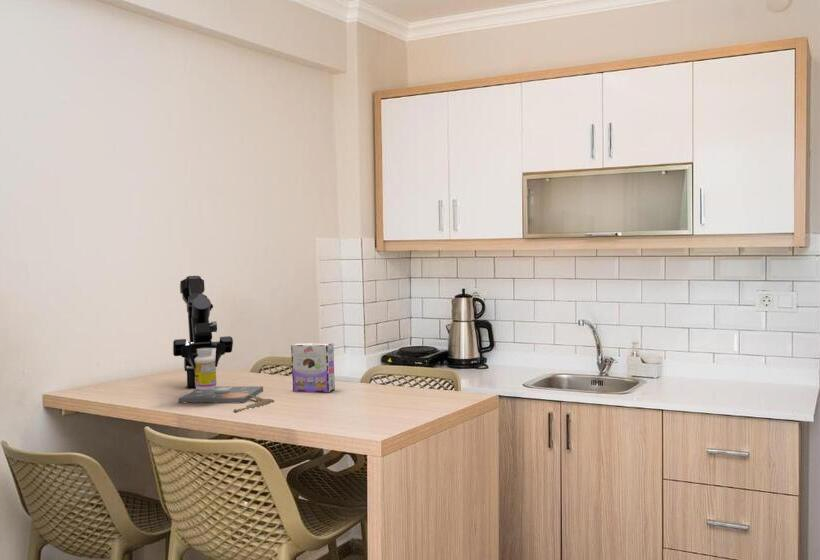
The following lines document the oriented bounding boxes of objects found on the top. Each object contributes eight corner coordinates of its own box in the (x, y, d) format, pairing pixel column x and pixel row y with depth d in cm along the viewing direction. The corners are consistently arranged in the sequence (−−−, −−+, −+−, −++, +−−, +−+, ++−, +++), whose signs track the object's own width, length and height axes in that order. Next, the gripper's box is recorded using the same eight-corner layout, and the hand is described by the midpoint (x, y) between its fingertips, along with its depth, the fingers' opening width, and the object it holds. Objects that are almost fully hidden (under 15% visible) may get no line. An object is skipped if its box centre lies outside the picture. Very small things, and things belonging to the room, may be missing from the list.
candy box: (335, 390, 281) (334, 342, 280) (328, 393, 275) (327, 345, 274) (299, 388, 285) (298, 342, 284) (291, 391, 280) (290, 344, 279)
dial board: (178, 402, 264) (178, 394, 264) (202, 390, 285) (202, 383, 285) (244, 403, 261) (243, 394, 261) (263, 390, 282) (262, 383, 282)
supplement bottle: (194, 387, 263) (193, 347, 263) (215, 385, 265) (214, 346, 265) (195, 390, 257) (194, 350, 256) (217, 389, 259) (215, 349, 258)
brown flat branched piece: (276, 402, 267) (277, 395, 267) (261, 416, 246) (262, 409, 246) (249, 400, 267) (250, 393, 267) (232, 414, 247) (232, 407, 247)
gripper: (172, 314, 260) (175, 353, 251) (231, 311, 267) (236, 349, 257) (171, 336, 268) (175, 374, 259) (229, 332, 274) (234, 370, 265)
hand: (205, 366), depth 259 cm, fingers closed on supplement bottle, 6 cm apart
